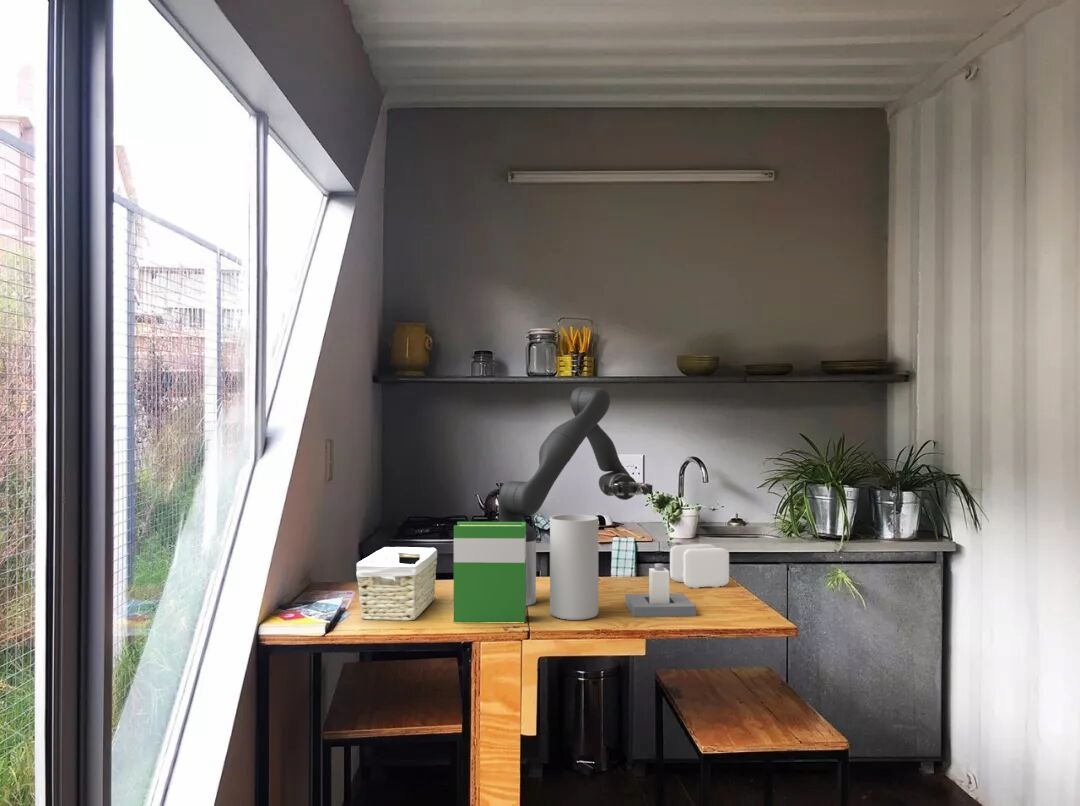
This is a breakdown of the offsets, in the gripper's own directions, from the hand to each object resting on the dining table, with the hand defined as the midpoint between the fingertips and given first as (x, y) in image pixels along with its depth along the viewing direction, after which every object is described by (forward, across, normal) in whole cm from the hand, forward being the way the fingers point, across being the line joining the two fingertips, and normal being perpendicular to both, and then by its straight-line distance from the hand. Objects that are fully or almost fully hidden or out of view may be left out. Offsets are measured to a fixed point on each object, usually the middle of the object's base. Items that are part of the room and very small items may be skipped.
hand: (631, 491), depth 217 cm
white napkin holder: (-14, +23, +30) cm, 40 cm away
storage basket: (+12, -64, +30) cm, 72 cm away
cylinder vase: (+19, -18, +30) cm, 40 cm away
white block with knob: (+15, +5, +30) cm, 34 cm away
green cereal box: (+22, -39, +30) cm, 55 cm away
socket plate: (+15, +5, +30) cm, 34 cm away
